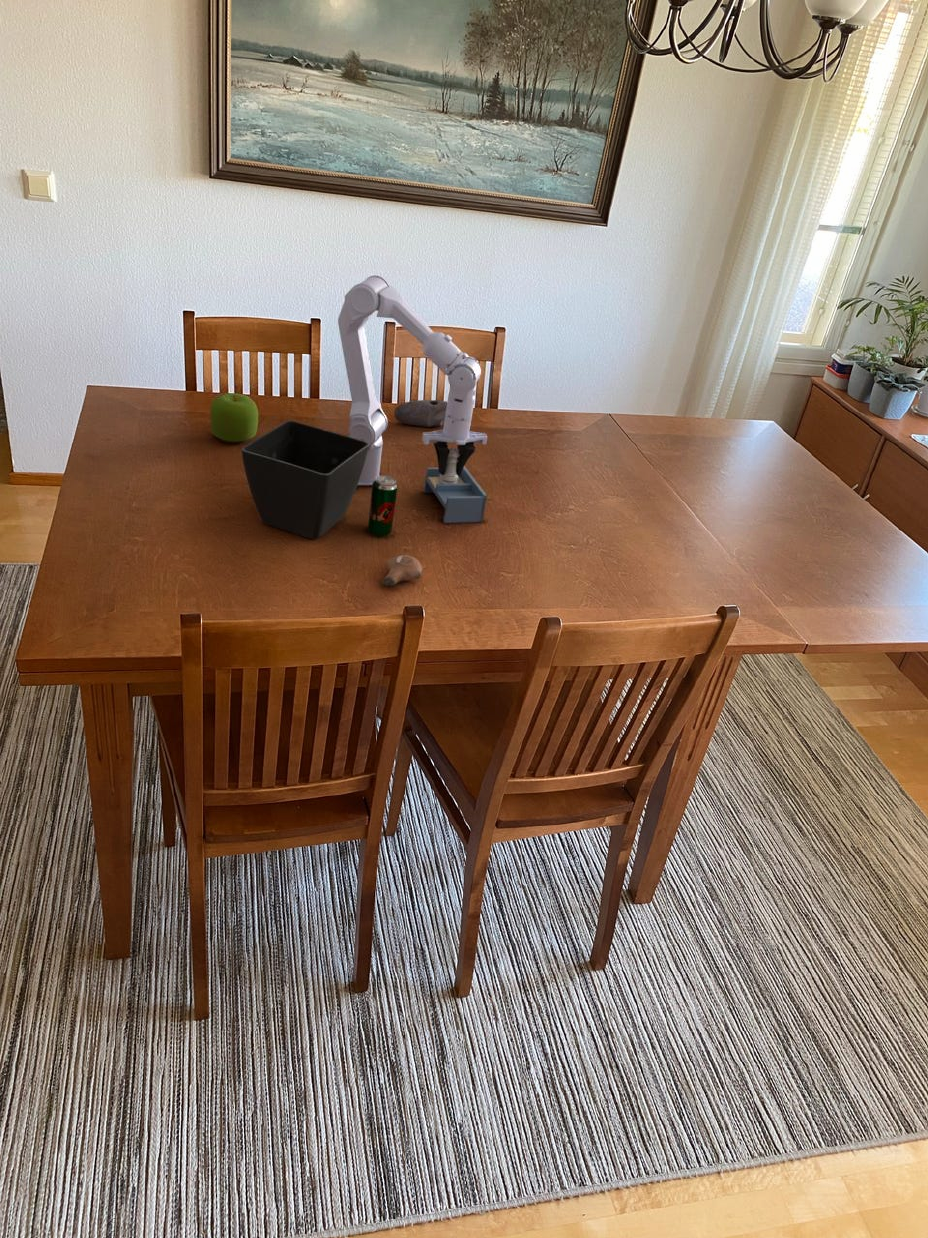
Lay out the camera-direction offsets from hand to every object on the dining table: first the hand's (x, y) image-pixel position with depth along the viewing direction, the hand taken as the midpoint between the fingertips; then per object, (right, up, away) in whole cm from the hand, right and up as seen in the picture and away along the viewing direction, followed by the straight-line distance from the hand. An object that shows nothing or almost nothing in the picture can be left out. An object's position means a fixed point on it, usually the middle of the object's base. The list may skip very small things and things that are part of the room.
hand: (449, 472), depth 200 cm
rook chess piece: (0, -2, +1) cm, 3 cm away
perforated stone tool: (-8, +19, +38) cm, 43 cm away
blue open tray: (+1, -7, +1) cm, 7 cm away
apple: (-52, +10, +13) cm, 54 cm away
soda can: (-14, -15, -14) cm, 25 cm away
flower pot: (-30, -12, -15) cm, 36 cm away
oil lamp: (-9, -25, -28) cm, 39 cm away
